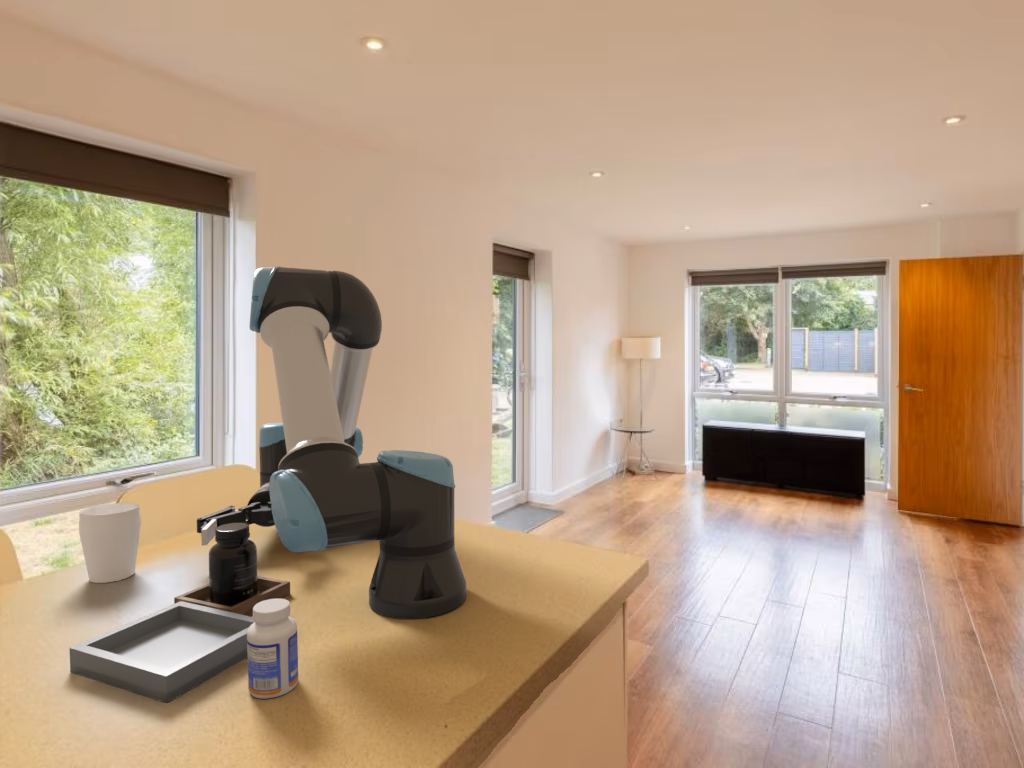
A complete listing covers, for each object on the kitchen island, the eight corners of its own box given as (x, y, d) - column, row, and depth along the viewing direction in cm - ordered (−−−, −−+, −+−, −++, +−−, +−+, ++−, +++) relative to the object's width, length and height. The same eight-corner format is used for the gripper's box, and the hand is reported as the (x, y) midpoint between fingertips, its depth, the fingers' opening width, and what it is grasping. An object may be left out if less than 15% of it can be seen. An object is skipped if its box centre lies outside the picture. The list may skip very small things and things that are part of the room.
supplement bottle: (200, 606, 92) (197, 529, 91) (238, 590, 98) (236, 518, 97) (229, 615, 88) (227, 535, 88) (267, 598, 95) (265, 523, 94)
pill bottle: (283, 669, 73) (281, 591, 72) (307, 685, 69) (305, 603, 69) (239, 689, 69) (236, 606, 68) (263, 706, 65) (260, 619, 65)
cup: (154, 568, 108) (152, 502, 108) (116, 587, 100) (114, 516, 99) (108, 566, 109) (106, 502, 109) (67, 585, 100) (64, 515, 100)
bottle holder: (290, 594, 96) (290, 581, 96) (230, 623, 85) (230, 610, 85) (237, 583, 101) (236, 572, 101) (174, 610, 90) (174, 597, 90)
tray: (270, 642, 80) (270, 620, 80) (167, 702, 66) (166, 676, 66) (181, 621, 86) (180, 601, 86) (70, 671, 73) (69, 647, 72)
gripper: (333, 518, 126) (322, 551, 105) (205, 525, 121) (167, 561, 100) (332, 483, 125) (322, 509, 105) (204, 489, 120) (166, 517, 100)
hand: (246, 535), depth 102 cm, fingers open, 13 cm apart
